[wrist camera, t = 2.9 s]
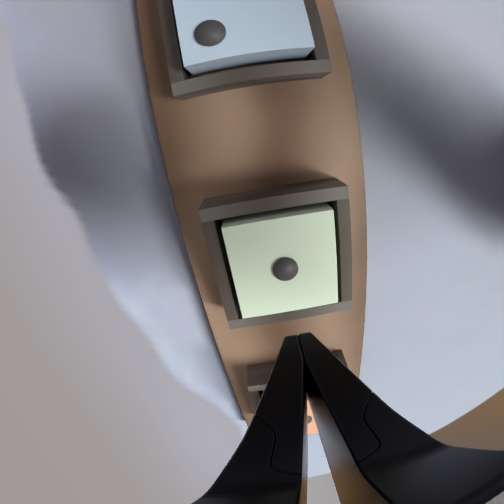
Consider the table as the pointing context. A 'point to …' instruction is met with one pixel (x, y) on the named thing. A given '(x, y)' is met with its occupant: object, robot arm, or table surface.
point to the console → (262, 179)
